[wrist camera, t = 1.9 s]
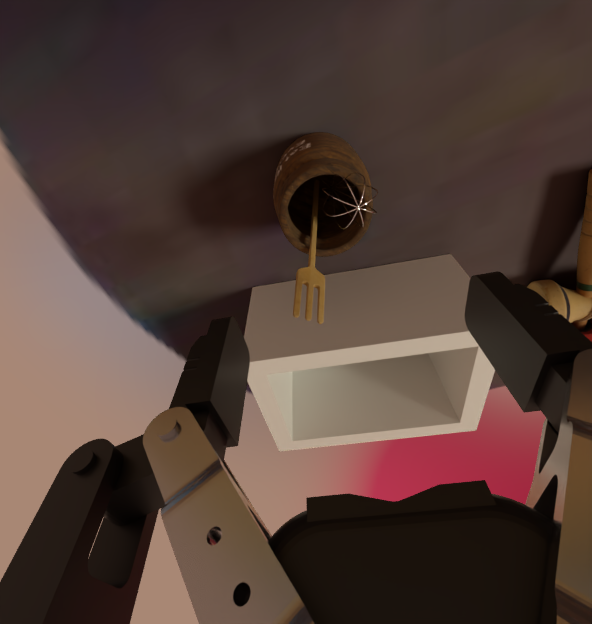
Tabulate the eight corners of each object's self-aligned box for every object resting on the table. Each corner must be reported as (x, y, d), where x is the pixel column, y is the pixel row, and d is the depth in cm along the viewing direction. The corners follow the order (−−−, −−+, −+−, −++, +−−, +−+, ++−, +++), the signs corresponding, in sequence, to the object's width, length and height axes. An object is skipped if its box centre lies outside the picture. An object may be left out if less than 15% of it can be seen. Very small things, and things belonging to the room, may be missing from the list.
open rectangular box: (252, 287, 28) (239, 363, 21) (450, 253, 26) (508, 325, 19) (281, 373, 35) (279, 451, 28) (437, 352, 33) (476, 430, 26)
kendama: (519, 178, 24) (501, 359, 33) (603, 189, 18) (554, 403, 27) (616, 149, 24) (572, 337, 33) (729, 151, 18) (639, 377, 27)
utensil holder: (375, 148, 21) (441, 218, 12) (336, 231, 25) (364, 336, 15) (291, 113, 20) (291, 162, 10) (264, 207, 23) (246, 305, 14)
